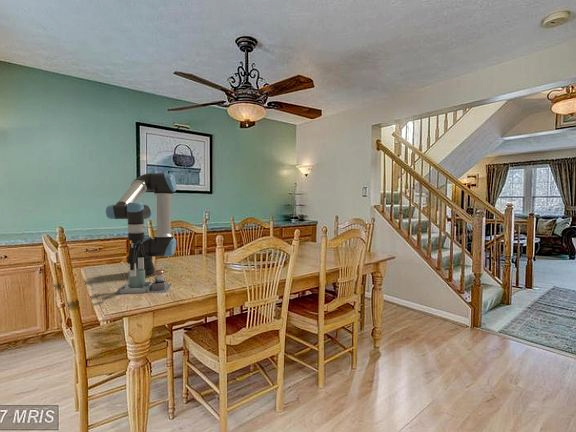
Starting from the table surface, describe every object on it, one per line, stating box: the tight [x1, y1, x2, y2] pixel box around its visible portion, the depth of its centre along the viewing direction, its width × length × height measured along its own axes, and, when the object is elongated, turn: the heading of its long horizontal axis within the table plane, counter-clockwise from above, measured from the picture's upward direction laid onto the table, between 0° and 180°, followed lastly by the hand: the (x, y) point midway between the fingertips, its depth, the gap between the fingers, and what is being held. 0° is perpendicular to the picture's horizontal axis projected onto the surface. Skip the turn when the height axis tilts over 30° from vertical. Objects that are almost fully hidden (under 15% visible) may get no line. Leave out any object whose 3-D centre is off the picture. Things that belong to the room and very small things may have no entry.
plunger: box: [153, 269, 165, 283], centre depth 166 cm, size 5×5×6 cm
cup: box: [127, 268, 146, 289], centre depth 164 cm, size 8×8×10 cm
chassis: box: [117, 280, 173, 295], centre depth 166 cm, size 16×23×5 cm
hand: (137, 272), depth 165 cm, fingers open, 13 cm apart
